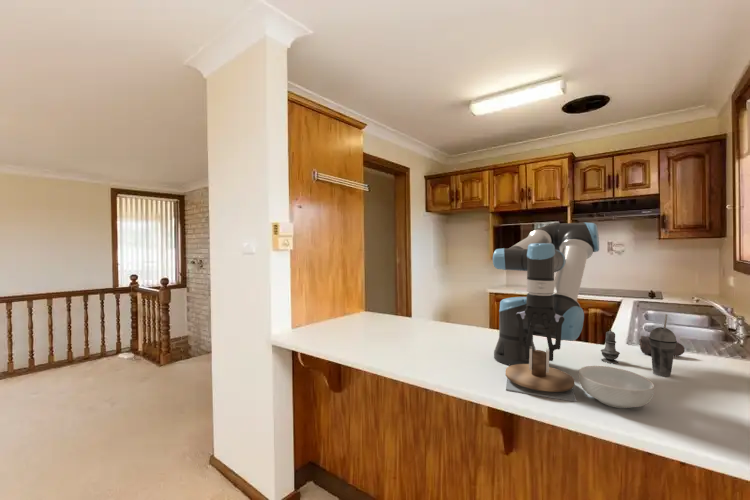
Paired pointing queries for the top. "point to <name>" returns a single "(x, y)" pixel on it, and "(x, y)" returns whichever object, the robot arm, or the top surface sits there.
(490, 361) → the top surface
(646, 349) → the perforated stone tool
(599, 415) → the top surface
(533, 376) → the lid
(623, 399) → the cereal bowl
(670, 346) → the beverage cup
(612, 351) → the salt shaker
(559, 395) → the mat
